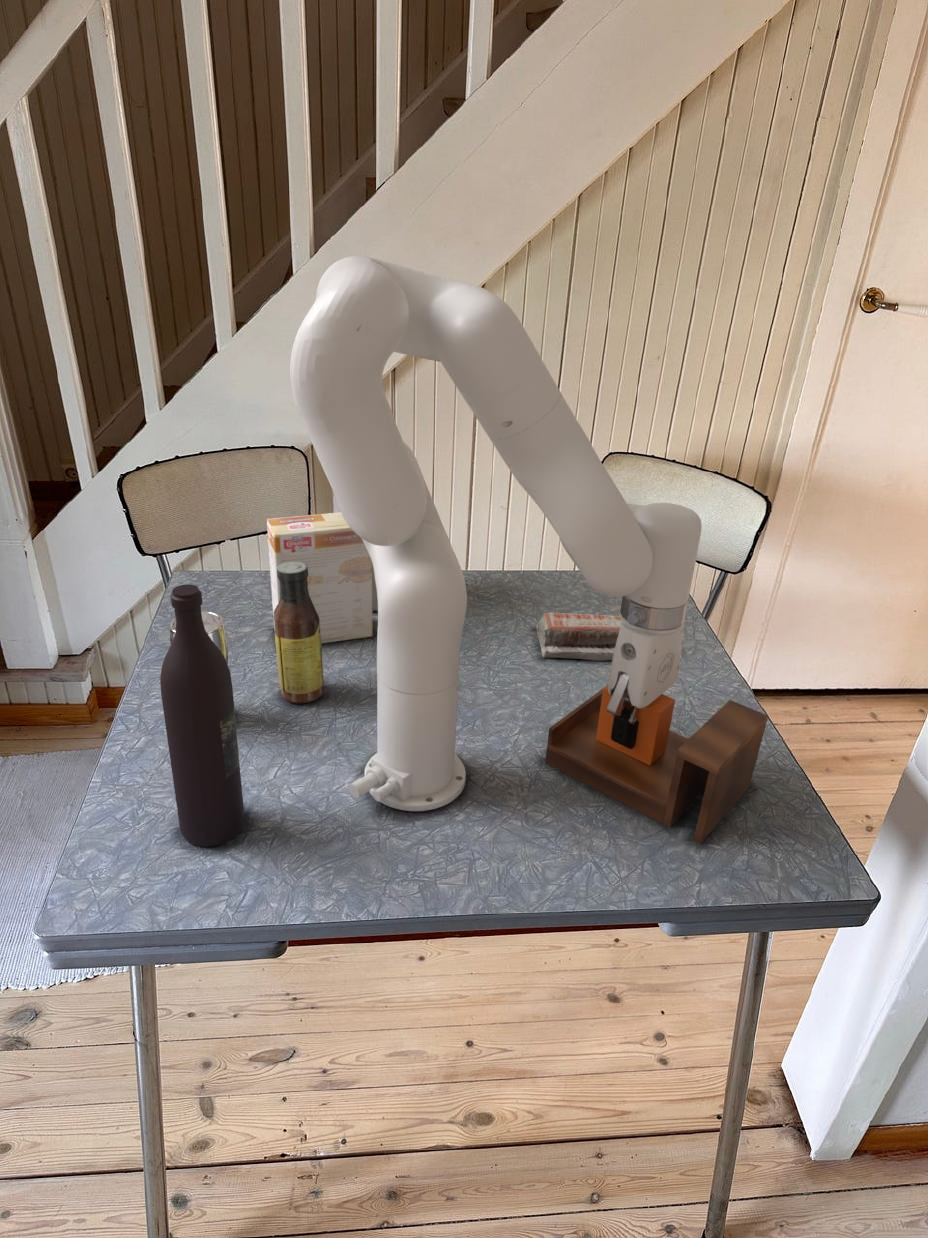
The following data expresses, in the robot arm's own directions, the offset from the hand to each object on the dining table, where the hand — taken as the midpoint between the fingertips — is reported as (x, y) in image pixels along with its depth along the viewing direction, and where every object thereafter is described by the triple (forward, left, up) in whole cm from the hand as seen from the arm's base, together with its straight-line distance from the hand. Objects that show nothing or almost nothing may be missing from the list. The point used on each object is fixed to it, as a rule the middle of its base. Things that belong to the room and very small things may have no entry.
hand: (632, 734), depth 107 cm
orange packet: (0, 0, -2) cm, 2 cm away
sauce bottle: (-18, +43, -5) cm, 47 cm away
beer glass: (-31, +47, -5) cm, 57 cm away
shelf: (0, -3, -5) cm, 6 cm away
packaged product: (+24, +20, -5) cm, 32 cm away
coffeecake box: (-4, +54, -5) cm, 54 cm away
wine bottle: (-43, +29, -5) cm, 52 cm away
